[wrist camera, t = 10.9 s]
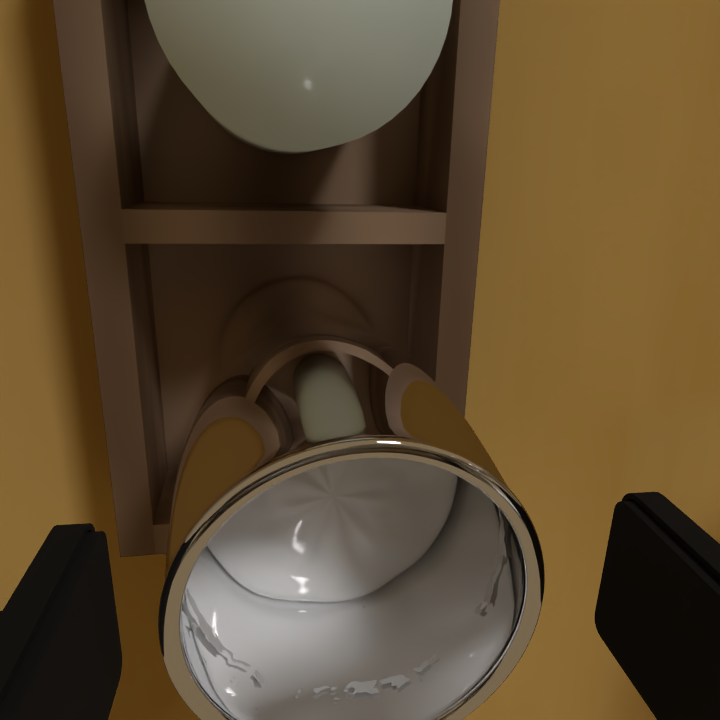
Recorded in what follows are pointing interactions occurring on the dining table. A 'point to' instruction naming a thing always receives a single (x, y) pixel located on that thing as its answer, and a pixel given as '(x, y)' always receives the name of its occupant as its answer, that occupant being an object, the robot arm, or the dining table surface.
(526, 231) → the dining table surface
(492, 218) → the dining table surface
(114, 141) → the carrier
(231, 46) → the grey rounded piece
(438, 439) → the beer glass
